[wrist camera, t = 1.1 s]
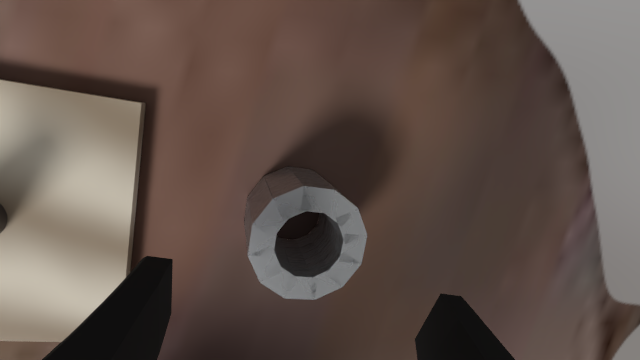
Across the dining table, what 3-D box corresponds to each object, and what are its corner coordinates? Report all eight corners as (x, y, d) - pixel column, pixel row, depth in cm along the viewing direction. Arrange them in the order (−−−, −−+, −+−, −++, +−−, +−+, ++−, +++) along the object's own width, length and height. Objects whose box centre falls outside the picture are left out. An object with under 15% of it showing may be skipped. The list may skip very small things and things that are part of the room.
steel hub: (328, 260, 23) (353, 301, 19) (239, 253, 22) (241, 296, 17) (345, 174, 23) (375, 195, 18) (252, 161, 21) (258, 180, 16)
